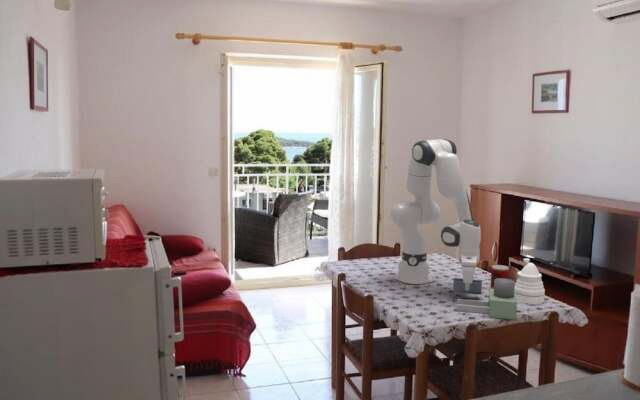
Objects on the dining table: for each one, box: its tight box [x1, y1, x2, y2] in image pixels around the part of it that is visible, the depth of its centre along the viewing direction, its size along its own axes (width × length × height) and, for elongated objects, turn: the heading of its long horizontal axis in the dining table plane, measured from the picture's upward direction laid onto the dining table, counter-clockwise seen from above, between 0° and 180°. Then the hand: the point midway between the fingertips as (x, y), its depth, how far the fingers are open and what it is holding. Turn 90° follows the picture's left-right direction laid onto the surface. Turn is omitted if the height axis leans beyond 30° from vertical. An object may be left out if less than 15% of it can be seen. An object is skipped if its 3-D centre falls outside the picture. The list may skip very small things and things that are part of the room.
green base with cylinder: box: [455, 278, 518, 320], centre depth 229 cm, size 17×23×13 cm
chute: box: [452, 277, 483, 295], centre depth 244 cm, size 5×12×5 cm, turn 75°
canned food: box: [490, 264, 510, 289], centre depth 258 cm, size 8×8×11 cm
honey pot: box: [514, 258, 546, 305], centre depth 243 cm, size 13×13×18 cm
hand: (467, 288), depth 244 cm, fingers closed on chute, 5 cm apart
